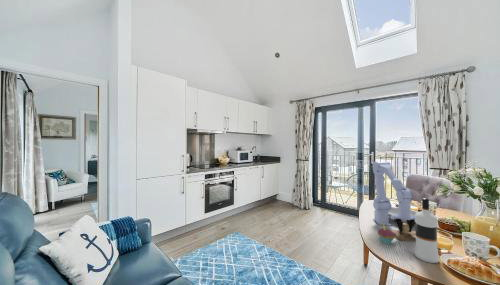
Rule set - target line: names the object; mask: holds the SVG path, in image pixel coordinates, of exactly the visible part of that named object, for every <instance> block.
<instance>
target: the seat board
mask: <svg viewBox="0 0 500 285" xmlns="http://www.w3.org/2000/svg"><path fill="white" fill-rule="evenodd" d="M390 230H391V231H392V232H393V233H394V234H395V239H397V240H398V241H409V242H416V237H415V235H416V230H412V231H411V232H409V236H403V235H402V233H401V232H400V231H399V229H390Z"/></svg>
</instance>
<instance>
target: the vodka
mask: <svg viewBox="0 0 500 285" xmlns="http://www.w3.org/2000/svg"><path fill="white" fill-rule="evenodd" d="M421 207H422V208H421V211H417V212H418V213H416V214H415V225H414V226H415V231H416V235H415V237H416V241H415V248H414V252H413V253H414V256H415V257H416V258H417V259H419V260H420V261H423V262H424V263H430V264H437V263H439V262H440V256H439V251H438V243H439V241H438V218H437V217H436V216H435V214H433V213H431V212H430V199H429V198H426V197H422V198H421Z"/></svg>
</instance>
